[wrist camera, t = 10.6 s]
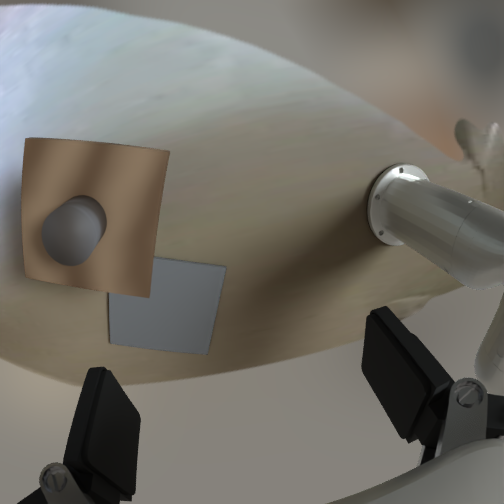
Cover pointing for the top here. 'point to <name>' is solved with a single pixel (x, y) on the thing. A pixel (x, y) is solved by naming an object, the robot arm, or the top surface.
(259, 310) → the top surface
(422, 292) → the top surface
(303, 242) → the top surface
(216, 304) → the rubber mat
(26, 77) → the top surface
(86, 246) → the walnut lid
